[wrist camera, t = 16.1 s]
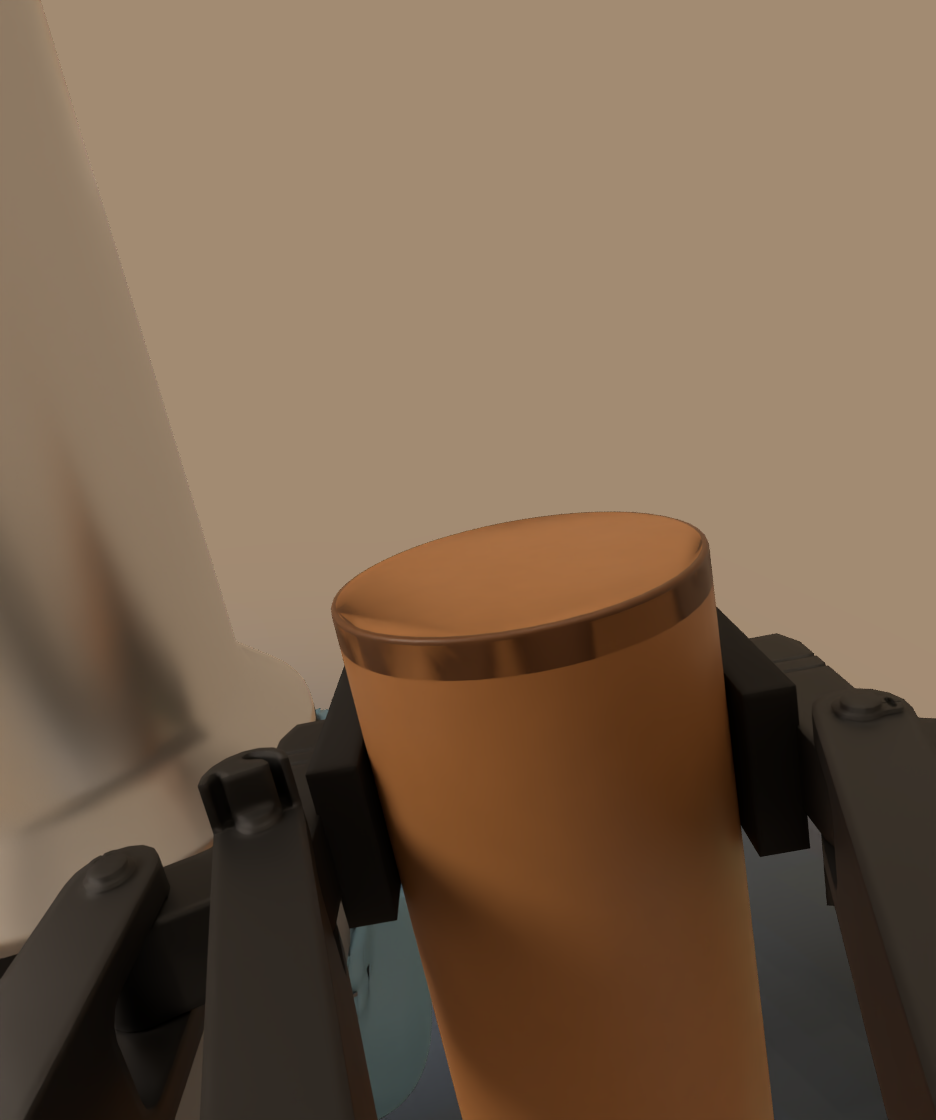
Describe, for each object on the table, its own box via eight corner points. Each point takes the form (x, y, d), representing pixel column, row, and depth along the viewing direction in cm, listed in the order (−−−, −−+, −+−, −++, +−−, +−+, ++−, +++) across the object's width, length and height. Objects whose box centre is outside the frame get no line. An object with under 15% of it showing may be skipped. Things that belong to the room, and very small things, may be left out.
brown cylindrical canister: (431, 1130, 16) (281, 589, 12) (631, 982, 18) (551, 500, 15) (610, 1434, 11) (442, 683, 8) (849, 1175, 13) (797, 529, 10)
